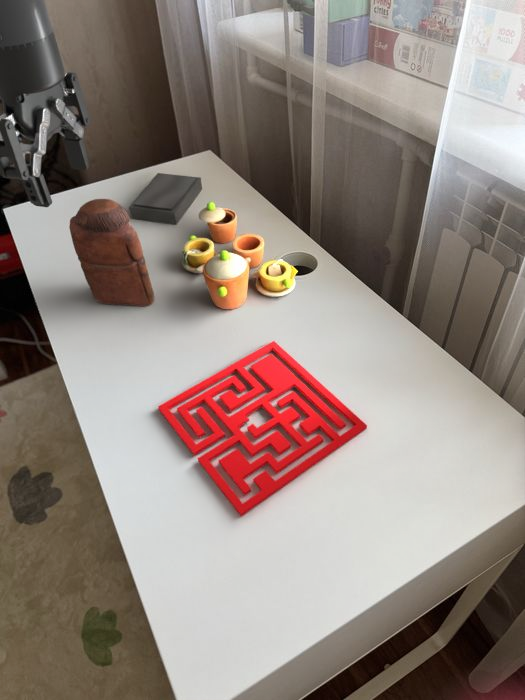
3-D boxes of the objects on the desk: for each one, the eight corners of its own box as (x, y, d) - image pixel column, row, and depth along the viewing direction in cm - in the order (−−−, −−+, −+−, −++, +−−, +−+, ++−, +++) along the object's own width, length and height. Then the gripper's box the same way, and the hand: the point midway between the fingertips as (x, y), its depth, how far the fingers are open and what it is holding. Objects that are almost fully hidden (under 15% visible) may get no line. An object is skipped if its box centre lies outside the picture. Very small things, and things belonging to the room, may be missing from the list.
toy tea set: (308, 291, 90) (308, 243, 83) (226, 327, 85) (219, 279, 78) (233, 221, 106) (228, 175, 99) (161, 247, 101) (150, 202, 94)
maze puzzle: (158, 409, 74) (157, 406, 73) (274, 343, 81) (273, 340, 81) (241, 516, 62) (240, 514, 62) (366, 428, 70) (367, 425, 69)
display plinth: (131, 218, 108) (127, 205, 106) (160, 184, 117) (157, 171, 115) (176, 224, 106) (174, 211, 104) (202, 189, 115) (200, 176, 113)
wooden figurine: (163, 285, 93) (141, 191, 80) (153, 310, 88) (127, 215, 75) (99, 281, 94) (67, 189, 81) (86, 305, 90) (49, 212, 77)
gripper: (19, 8, 56) (65, 155, 68) (-73, 53, 47) (-2, 214, 59) (83, 11, 55) (118, 161, 67) (1, 58, 45) (59, 223, 57)
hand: (62, 186), depth 63 cm, fingers open, 8 cm apart
